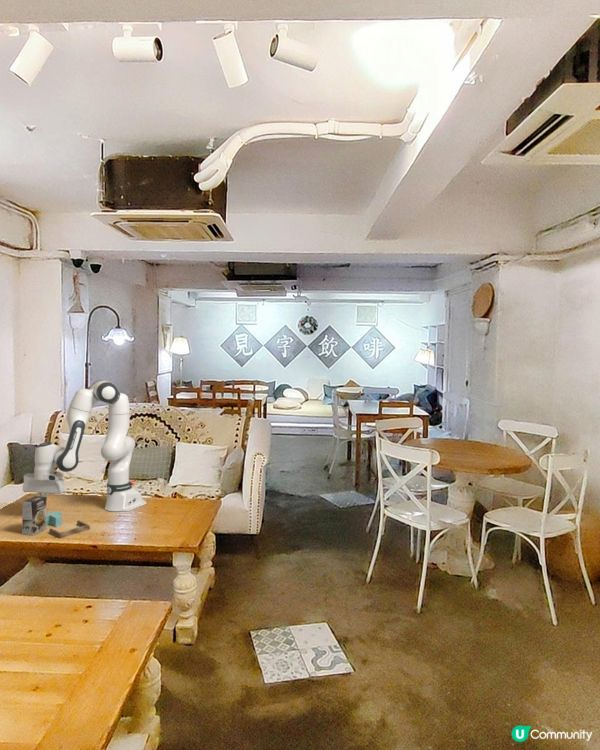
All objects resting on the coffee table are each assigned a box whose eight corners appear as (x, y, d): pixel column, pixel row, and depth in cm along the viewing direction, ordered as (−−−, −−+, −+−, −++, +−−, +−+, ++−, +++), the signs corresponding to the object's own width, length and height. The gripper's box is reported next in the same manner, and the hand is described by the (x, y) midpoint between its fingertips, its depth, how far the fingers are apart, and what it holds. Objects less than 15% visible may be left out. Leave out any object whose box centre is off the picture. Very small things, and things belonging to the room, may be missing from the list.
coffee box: (33, 535, 237) (33, 502, 236) (21, 534, 238) (21, 501, 237) (47, 528, 246) (47, 496, 245) (35, 527, 247) (35, 495, 246)
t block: (58, 519, 259) (58, 510, 258) (67, 523, 253) (67, 514, 253) (40, 524, 251) (40, 515, 251) (49, 528, 246) (49, 519, 246)
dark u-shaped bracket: (79, 524, 252) (79, 520, 252) (89, 529, 247) (89, 525, 246) (49, 533, 240) (49, 529, 240) (59, 538, 235) (59, 534, 234)
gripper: (20, 474, 253) (19, 501, 254) (60, 477, 253) (59, 504, 254) (27, 471, 260) (26, 497, 261) (66, 474, 259) (65, 500, 260)
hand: (43, 500), depth 257 cm, fingers closed
